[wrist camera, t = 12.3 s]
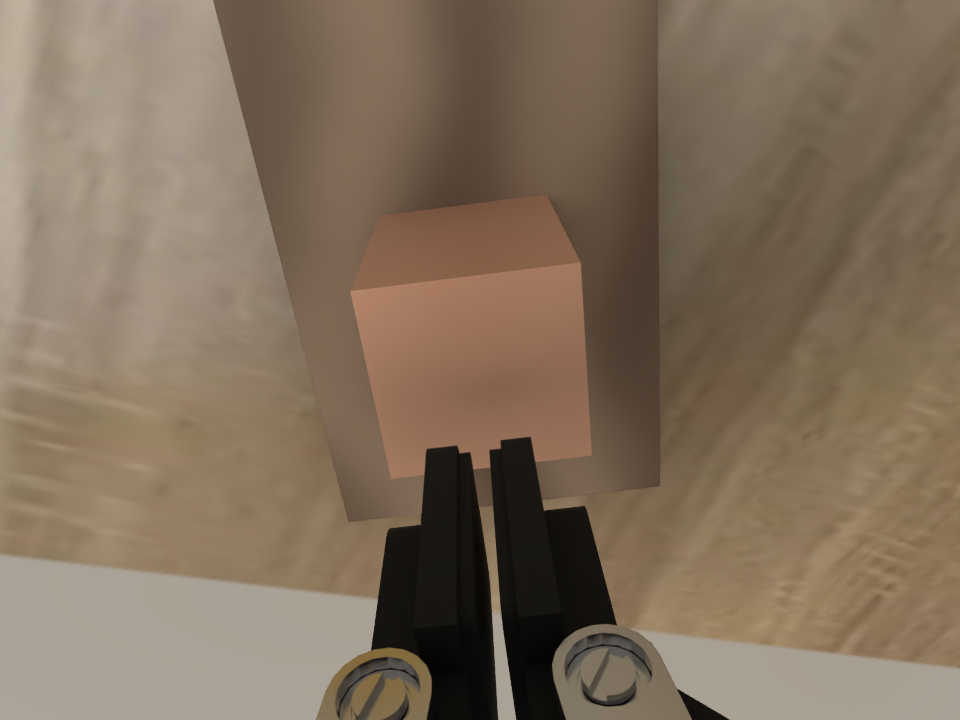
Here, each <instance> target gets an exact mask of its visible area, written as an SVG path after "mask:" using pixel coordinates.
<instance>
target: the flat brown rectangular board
mask: <svg viewBox="0 0 960 720" xmlns="http://www.w3.org/2000/svg"><path fill="white" fill-rule="evenodd" d="M213 1H214V5H215V9H216V13H217V17H218V21H219V24H220V28H221V32H222V36H223V40H224V44H225V48H226V51H227V55H228V59H229V63H230V67H231V71H232V75H233V78H234V82H235V86H236V90H237V94H238V98H239V102H240V105H241V109H242V113H243V117H244V121H245V125H246V129H247V132H248V136H249V140H250V144H251V148H252V152H253V156H254V159H255V163H256V167H257V171H258V175H259V179H260V182H261V186H262V190H263V194H264V198H265V202H266V206H267V209H268V213H269V217H270V221H271V225H272V229H273V233H274V236H275V240H276V244H277V248H278V252H279V256H280V260H281V263H282V267H283V271H284V275H285V279H286V283H287V287H288V290H289V294H290V298H291V302H292V306H293V310H294V313H295V317H296V321H297V325H298V329H299V333H300V337H301V340H302V344H303V348H304V352H305V356H306V360H307V364H308V367H309V371H310V375H311V379H312V383H313V387H314V391H315V394H316V398H317V402H318V406H319V410H320V414H321V418H322V421H323V425H324V429H325V433H326V437H327V441H328V445H329V448H330V452H331V456H332V460H333V464H334V468H335V471H336V475H337V479H338V483H339V487H340V491H341V495H342V498H343V502H344V506H345V510H346V514H347V518H348V522H354V521H363V520H371V519H380V518H389V517H397V516H406V515H415V514H422V501H423V487H424V475H422V476H413V477H404V478H396V479H391V477H390V472H389V467H388V463H387V458H386V454H385V449H384V444H383V440H382V435H381V431H380V426H379V421H378V417H377V412H376V407H375V403H374V398H373V394H372V389H371V384H370V380H369V375H368V371H367V366H366V361H365V357H364V352H363V348H362V343H361V338H360V334H359V329H358V325H357V320H356V315H355V311H354V306H353V301H352V297H351V292H350V291H351V288H352V285H353V283H354V280H355V278H356V275H357V273H358V270H359V267H360V265H361V262H362V260H363V257H364V254H365V252H366V249H367V247H368V244H369V242H370V239H371V236H372V234H373V231H374V229H375V226H376V224H377V221H378V218H379V216H381V215H389V214H397V213H405V212H412V211H420V210H428V209H436V208H444V207H452V206H460V205H468V204H475V203H483V202H491V201H499V200H507V199H515V198H523V197H530V196H538V195H546V194H547V196H548V198H549V200H550V202H551V204H552V206H553V208H554V210H555V212H556V214H557V216H558V218H559V220H560V222H561V224H562V226H563V228H564V230H565V232H566V234H567V236H568V238H569V240H570V242H571V244H572V246H573V248H574V250H575V252H576V254H577V256H578V258H579V260H580V262H581V276H582V293H583V310H584V328H585V345H586V362H587V379H588V397H589V414H590V431H591V448H592V456H584V457H575V458H567V459H558V460H550V461H541V462H535V463H536V469H537V475H538V480H539V486H540V492H541V497H542V500H544V499H553V498H561V497H570V496H579V495H587V494H596V493H605V492H613V491H622V490H631V489H639V488H648V487H656V486H660V435H659V273H658V111H657V0H213ZM473 471H474V478H475V484H476V491H477V497H478V504H479V507H484V506H492V505H493V496H492V483H491V469H490V468H481V469H473Z"/></svg>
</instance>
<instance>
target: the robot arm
mask: <svg viewBox="0 0 960 720" xmlns="http://www.w3.org/2000/svg"><path fill="white" fill-rule="evenodd" d="M500 442H501V448H500V449H492V450H489V456H490V469H491V483H492V496H493V510H494V523H495V537H496V550H497V564H498V577H499V591H500V604H501V614H502V623H503V631H504V639H505V645H506V652H507V659H508V666H509V672H510V680H511V686H512V692H513V700H514V707H515V714H516V720H729V719H727V718H726V717H724V716H722V715H721V714H719V713H717V712H716V711H714V710H712V709H710V708H708V707H707V706H706V705H704V704H702V703H700V702H699V701H697V700H695V699H694V698H692V697H690V696H689V695H687V694H685V693H684V692H681V691H680V690H678V689H677V688H676V686H675V684H674V682H673V680H672V678H671V676H670V674H669V672H668V670H667V668H666V666H665V664H664V662H663V660H662V658H661V656H660V654H659V653H658V651H657V650H656V649H655V647H654V646H653V644H652V643H651V642H650V641H648V640H647V639H646V638H645V637H643V636H642V635H641V634H639V633H638V632H635V631H633V630H631V629H628V628H626V627H623V626H617V624H616V620H615V616H614V612H613V609H612V605H611V601H610V597H609V593H608V590H607V586H606V582H605V578H604V574H603V571H602V567H601V563H600V559H599V555H598V551H597V548H596V544H595V540H594V536H593V532H592V529H591V525H590V521H589V517H588V514H587V510H586V508H585V506H581V507H572V508H563V509H555V510H546V511H544V509H543V503H542V497H541V492H540V486H539V480H538V475H537V469H536V463H535V458H534V452H533V446H532V441H531V437H523V438H514V439H506V440H500ZM496 695H497V694H496V676H495V660H494V642H493V625H492V608H491V591H490V579H489V570H488V563H487V557H486V550H485V543H484V537H483V530H482V524H481V517H480V510H479V504H478V497H477V491H476V484H475V478H474V471H473V464H472V458H471V453H470V452H466V453H459V449H458V446H457V445H455V446H447V447H438V448H430V449H427V450H426V459H425V473H424V487H423V501H422V515H421V525H416V526H407V527H399V528H390V529H389V530H388V533H387V537H386V544H385V552H384V559H383V566H382V574H381V581H380V589H379V596H378V604H377V611H376V618H375V626H374V633H373V641H372V648H371V651H369V652H367V653H364V654H362V655H359V656H357V657H356V658H354V659H353V660H351V661H350V662H348V663H347V664H345V665H344V666H343V667H342V668H341V669H340V670H339V672H338V673H337V674H336V675H335V676H334V677H333V679H332V680H331V683H330V684H329V686H328V688H327V690H326V692H325V695H324V698H323V701H322V704H321V707H320V710H319V712H318V715H317V718H316V720H498V710H497V696H496Z"/></svg>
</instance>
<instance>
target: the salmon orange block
mask: <svg viewBox="0 0 960 720" xmlns="http://www.w3.org/2000/svg"><path fill="white" fill-rule="evenodd" d="M350 292H351V297H352V301H353V306H354V311H355V315H356V320H357V325H358V329H359V334H360V338H361V343H362V348H363V352H364V357H365V361H366V366H367V371H368V375H369V380H370V384H371V389H372V394H373V398H374V403H375V407H376V412H377V417H378V421H379V426H380V431H381V435H382V440H383V444H384V449H385V454H386V458H387V463H388V467H389V472H390V477H391V479H396V478H404V477H413V476H422V475H424V473H425V459H426V450H427V449H430V448H438V447H447V446H455V445H457V446H458V449H459V453H466V452H470V453H471V458H472V464H473V469H481V468H490V456H489V450H492V449H500V448H501V442H500V440H506V439H514V438H523V437H531V441H532V446H533V452H534V458H535V462H541V461H550V460H558V459H567V458H575V457H584V456H592V448H591V431H590V414H589V397H588V379H587V362H586V345H585V328H584V310H583V293H582V276H581V262H580V260H579V258H578V256H577V254H576V252H575V250H574V248H573V246H572V244H571V242H570V240H569V238H568V236H567V234H566V232H565V230H564V228H563V226H562V224H561V222H560V220H559V218H558V216H557V214H556V212H555V210H554V208H553V206H552V204H551V202H550V200H549V198H548V196H547V194H546V195H538V196H530V197H523V198H515V199H507V200H499V201H491V202H483V203H475V204H468V205H460V206H452V207H444V208H436V209H428V210H420V211H412V212H405V213H397V214H389V215H381V216H379V218H378V221H377V224H376V226H375V229H374V231H373V234H372V236H371V239H370V242H369V244H368V247H367V249H366V252H365V254H364V257H363V260H362V262H361V265H360V267H359V270H358V273H357V275H356V278H355V280H354V283H353V285H352V288H351V291H350Z"/></svg>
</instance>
